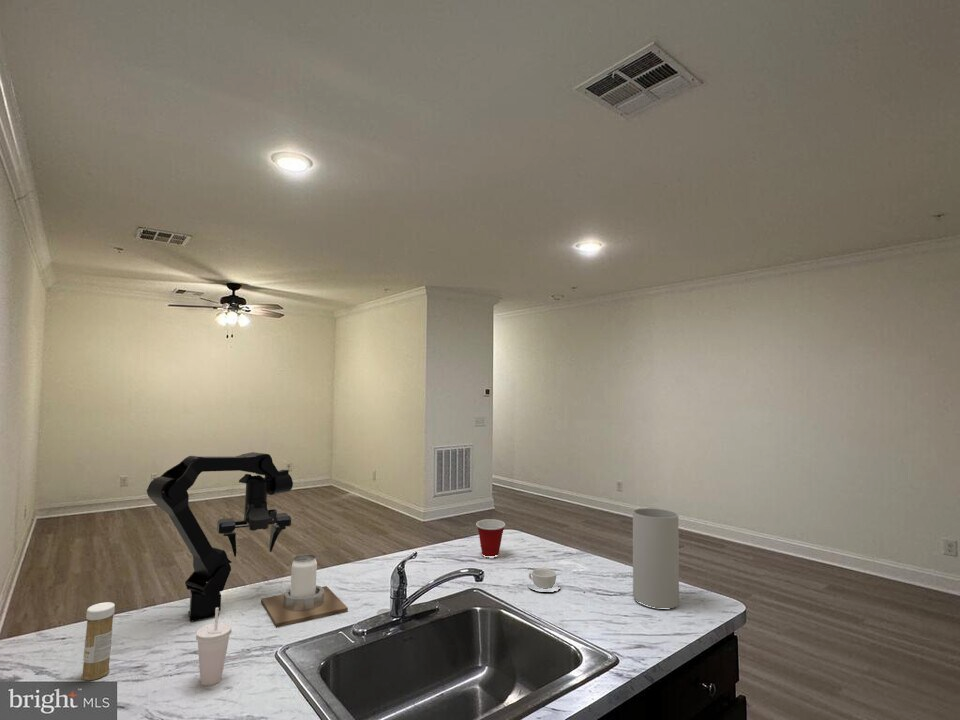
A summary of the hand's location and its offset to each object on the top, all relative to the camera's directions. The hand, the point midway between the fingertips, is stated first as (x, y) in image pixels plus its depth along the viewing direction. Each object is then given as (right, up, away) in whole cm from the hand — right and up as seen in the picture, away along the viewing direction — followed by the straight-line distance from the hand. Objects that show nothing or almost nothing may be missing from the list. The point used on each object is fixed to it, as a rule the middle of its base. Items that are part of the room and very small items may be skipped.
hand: (252, 553), depth 141 cm
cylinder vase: (+114, -15, +3) cm, 115 cm away
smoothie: (+11, -9, -42) cm, 44 cm away
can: (+16, -11, -6) cm, 21 cm away
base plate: (+16, -12, -6) cm, 21 cm away
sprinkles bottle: (-13, -9, -41) cm, 44 cm away
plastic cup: (+68, -17, +41) cm, 81 cm away
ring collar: (+16, -12, -6) cm, 21 cm away
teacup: (+84, -15, +12) cm, 86 cm away
